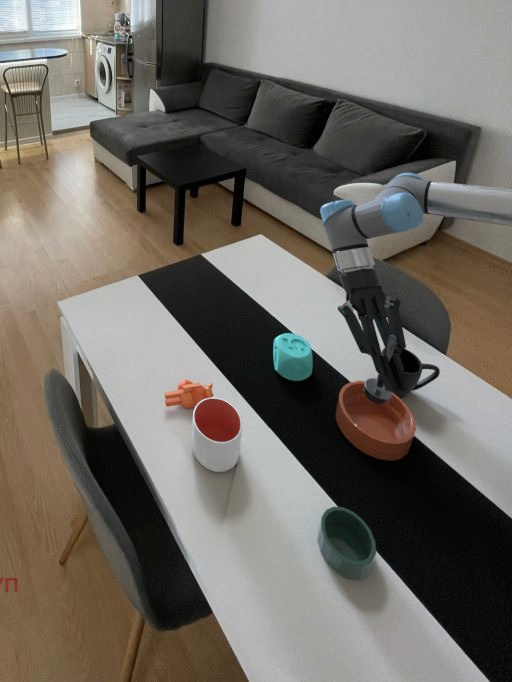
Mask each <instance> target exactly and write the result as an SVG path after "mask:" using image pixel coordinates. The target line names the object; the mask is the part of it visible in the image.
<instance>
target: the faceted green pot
mask: <svg viewBox="0 0 512 682" xmlns="http://www.w3.org/2000/svg"><path fill="white" fill-rule="evenodd" d="M319 522H320V523H319V526H318V529H317V530H318V531H317V544H318V547H319V551H320V553H321V556H322V557H323V559H324V560H325V562H326V563H327V564H328V566H329V567H330V568H331V569H332V570H333V571H334V572H335V573H337V574H338V575H340V576H342V577H343V578H345V579H348V580H352V581H360V580H363V579H364V578H366V577H368V575H369V574H370V571H371V569H372V567H373V564H374V561H375V557H376V555H377V544H376V543H377V542H376V540H375V538H374V535H373V533H372V530H371V528H370V527H369V526H368V524H367V523H366V522H365V521H364V519H363V518H361V517H360V516H359V515H358V514H357V513H355V512H354V511H352V510H350V509H348V508H346V507H343V506H331V507H329V508H327V509H325V511H324V512H323V514H322V516H321V519H320V521H319Z"/></svg>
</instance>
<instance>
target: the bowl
mask: <svg viewBox="0 0 512 682" xmlns="http://www.w3.org/2000/svg"><path fill="white" fill-rule="evenodd" d="M365 382H366V380H356V381H351V382H350V381H349V382H348V383H346V384H345V385H343V386H342V388H341V389H340V391H339V393H338V398H337V402H336V407H335V420H336V423H337V426H338V428H339V430H340V431H341V433H342V434H343V437H345V438H346V439H347V441H349V442H350V443H351V444H352V445H353V446H354V448H356V449H357V450H359V451H361V452H362V453H364V454H365V455H367V456H370V457H372V458H375V459H377V460H380V461H381V460H382V461H390V462H391V461H392V462H393V461H398V460H401V459H403V458H404V457H405V456H406V455H408V454H409V451H410V448H411V446H412V443H413V440H414V437H415V434H416V431H417V425H416V419H415V417H414V414H413V413H412V411H411V409H410V408H409V407H408V405H407V404H406V403H405V402H404V401H403V399H402V398H399V397H398V396H396V395H395V394H394V393H393V392H392V397H391V400H390V403H389V404H388V405H385V406H381V405H377V404H375V403H373V402H371V401H370V400H369V399H368V398H367V397H366V396H365V394H364V391H363V389H364V385H365Z"/></svg>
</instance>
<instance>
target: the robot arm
mask: <svg viewBox="0 0 512 682" xmlns="http://www.w3.org/2000/svg"><path fill="white" fill-rule="evenodd" d="M319 213H320V217H321V221H322V227H323V228H324V231H325V234H326V237H327V239H328V243H329V246H330V249H331V252H332V256H333V259H334V262H335V265H336V269H337V271H339V272H341V273H340V274H339V278H340V279H339V280H340V281H341V286H342V288H343V290H344V292H345V302H344V303H342V305H338V306H337V311H338V312H339V313H340V314H341V316H342V317H343V318H344V320H345V322H346V325H347V326H348V328H349V331H350V333H351V335H352V337H353V339H354V341H355V343H356V345H357V347H358V350H359V352H360V353H361V354H365V355H368V356H370V357H371V360H372V362H373V367H374V369H375V371H376V373H377V374H378V373H380V374H381V377H382V380H383V383H384V386H385V389H386V391H390V392H398V390H403V391H407V390H408V389H407V386H406V383H405V380H404V377H403V374H402V371H403V370H404V367H403V365H402V362H401V359H400V356H399V354H401V353H402V349H406V348H407V343H406V337H405V334H404V329H403V323H402V318H401V313H400V306H401V305H400V304H401V301H400V299H399V298H393V297H390V296H387V293H386V292H385V291H384V290H383V288H382V281H381V278H380V274H379V272H378V270H377V269H376V268H374V267H375V266H376V263H375V260H374V257H373V255H372V252H371V249H370V246H369V243H368V240H369V239H373V238H378V237H379V238H380V237H383V236H388V235H392V234H398V233H404V232H408V231H410V230H412V229H416V228H419V227H420V226H422V225H423V223H424V215H433V216H439V217H446V218H453V219H457V220H458V219H459V220H465V221H471V222H478V223H485V224H491V225H498V226H504V227H512V188H504V187H497V186H496V187H495V186H485V185H476V184H466V183H465V184H464V183H455V182H445V181H436V180H435V181H433V180H428V179H427V180H426V179H424V177H422V176H420V175H419V174H417V173H414V172H402V173H400V174H397V175H396V176H395V177H393V178H391V179H390V180H389V181H388V182H387V184H386V186H385V187H384V188H383V189H382V190H381V191H380V192H379V194H378V195H377V196H376V197H375V198H374V199H373V200H370V201H367V202H365V203H361V204H357V205H355V203H354V201H353V200H351V199H340V200H335V201H330V202H327V203H325V204H323V205H322V206H320V209H319ZM354 311H356V314H357V315H356V314H355V313H354ZM375 325H376V327H375ZM376 328H377V329H376ZM376 330H377V331H376ZM377 332H378V333H379V336H380V339H381V341H382V343H383V347H384V348H386V344H387V340H388V337H389V335H391V334H393V335H395V336H396V338H397V340H396V344H395V347H394V351H393V354H392V358H391V361H390V365H389V362H388V359H387V356H384V355H382V348H381V346H380V342H379V337H378V335H377Z"/></svg>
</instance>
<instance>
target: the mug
mask: <svg viewBox="0 0 512 682" xmlns="http://www.w3.org/2000/svg"><path fill="white" fill-rule="evenodd" d="M384 351H385V347H383V349H381V353H382V355H384ZM399 356H400V359H401V362H402V365H403V367H404V370H403V371H402V374H403V377H404V380H405V383H406V386H407V389H408V390H407V391H403V390H398V392H393V393H394V394H395V395H396V396H398V397H399V398H400V399H404V398H406V397H407V395H409V394H411V392H412V391H417V390H420V389H422V388H423V387H425V386H427V385H428V384H430V383H432V382H434V380H436V379H438V378H439V376H440V374H441V370H440V368H439V366H438V365H435V364H431V363H422V361H421V360H420V358H419V357H418V356H417V355H416V354H415V353H413V352H412V351H411V350H408V349H406V348H405V349H402V353H401V354H399ZM423 370H431V371H433V372H432V373H430V374H429V375H428V376H427V377H425V378H423V379H422V380H420V379H421V376H422V373H423Z"/></svg>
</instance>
